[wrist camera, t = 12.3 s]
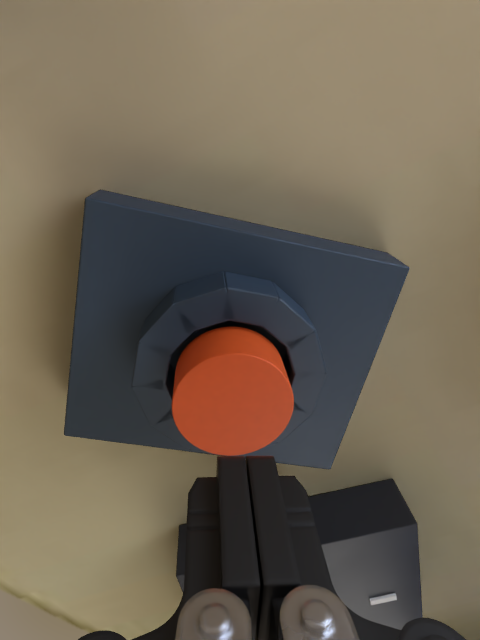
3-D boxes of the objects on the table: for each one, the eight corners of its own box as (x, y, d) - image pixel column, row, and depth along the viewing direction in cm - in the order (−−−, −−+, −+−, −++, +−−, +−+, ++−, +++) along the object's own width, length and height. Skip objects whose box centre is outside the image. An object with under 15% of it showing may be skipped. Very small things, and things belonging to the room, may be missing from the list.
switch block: (388, 252, 18) (434, 283, 15) (318, 439, 22) (341, 500, 19) (99, 189, 16) (69, 206, 13) (77, 405, 20) (49, 466, 17)
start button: (296, 336, 16) (309, 364, 14) (268, 426, 17) (276, 462, 15) (185, 316, 15) (183, 343, 13) (167, 412, 16) (162, 448, 15)
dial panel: (392, 477, 24) (419, 526, 21) (402, 593, 28) (425, 647, 25) (178, 525, 24) (175, 579, 21) (219, 632, 28) (221, 690, 25)
